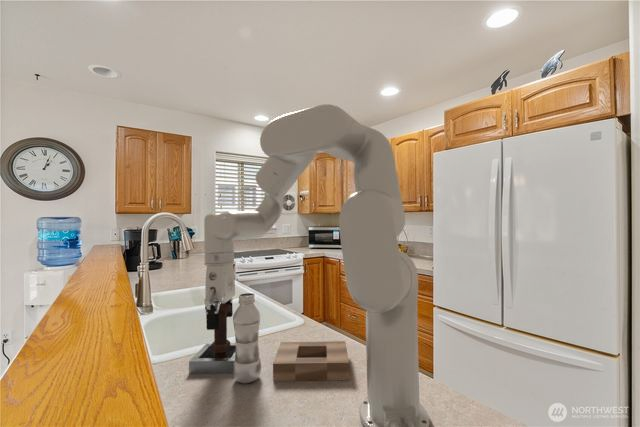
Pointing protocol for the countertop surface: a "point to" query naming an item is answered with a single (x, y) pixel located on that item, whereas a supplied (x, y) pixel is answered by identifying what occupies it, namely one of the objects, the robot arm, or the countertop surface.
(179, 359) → the countertop surface
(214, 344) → the bolt
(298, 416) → the countertop surface
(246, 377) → the plastic bottle
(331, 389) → the countertop surface
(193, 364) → the frame
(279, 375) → the wooden block with hole
